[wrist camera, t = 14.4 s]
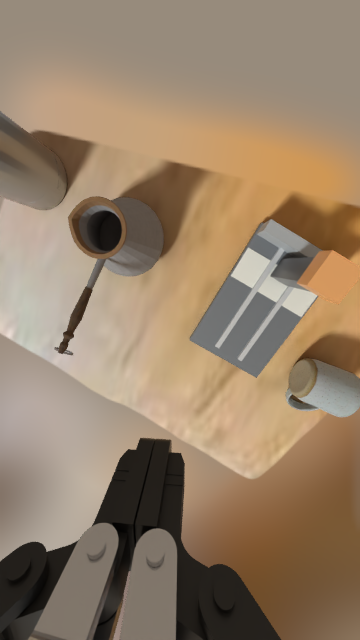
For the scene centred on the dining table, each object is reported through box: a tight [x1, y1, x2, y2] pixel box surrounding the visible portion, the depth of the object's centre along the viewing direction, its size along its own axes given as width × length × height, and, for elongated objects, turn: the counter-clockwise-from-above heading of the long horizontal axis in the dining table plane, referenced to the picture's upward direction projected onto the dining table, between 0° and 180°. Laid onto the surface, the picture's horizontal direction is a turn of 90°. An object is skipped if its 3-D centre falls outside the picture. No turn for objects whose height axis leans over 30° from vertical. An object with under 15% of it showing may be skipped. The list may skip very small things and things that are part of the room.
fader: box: [270, 250, 360, 304], centre depth 27 cm, size 4×4×13 cm
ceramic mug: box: [286, 358, 360, 417], centre depth 36 cm, size 11×8×8 cm
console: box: [190, 219, 323, 378], centre depth 35 cm, size 22×14×5 cm, turn 151°
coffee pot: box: [54, 197, 164, 355], centre depth 30 cm, size 21×12×15 cm, turn 160°
